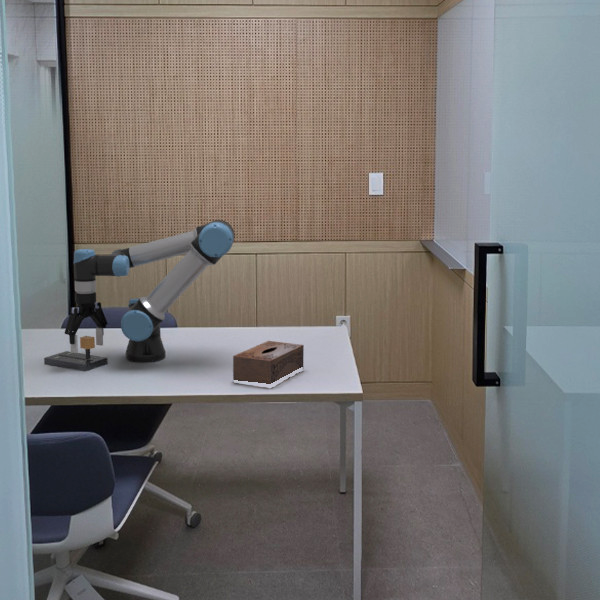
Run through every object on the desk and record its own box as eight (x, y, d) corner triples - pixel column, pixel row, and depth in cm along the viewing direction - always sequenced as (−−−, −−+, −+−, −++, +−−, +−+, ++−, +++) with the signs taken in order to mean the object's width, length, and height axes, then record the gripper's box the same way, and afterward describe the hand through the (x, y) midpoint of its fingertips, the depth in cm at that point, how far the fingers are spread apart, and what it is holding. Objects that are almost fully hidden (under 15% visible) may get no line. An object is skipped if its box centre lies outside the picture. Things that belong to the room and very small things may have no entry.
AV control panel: (107, 364, 335) (107, 357, 334) (85, 371, 324) (85, 364, 324) (67, 357, 344) (66, 350, 344) (44, 364, 334) (44, 357, 333)
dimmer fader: (95, 358, 331) (94, 337, 330) (89, 360, 329) (88, 338, 327) (86, 357, 333) (86, 335, 332) (80, 358, 331) (80, 337, 329)
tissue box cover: (270, 389, 305) (270, 360, 303) (233, 384, 311) (233, 356, 309) (303, 371, 327) (303, 344, 325) (268, 366, 333) (268, 340, 332)
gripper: (100, 285, 339) (102, 340, 343) (53, 296, 317) (55, 354, 321) (116, 287, 335) (117, 343, 339) (69, 298, 314) (71, 357, 318)
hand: (87, 348), depth 330 cm, fingers open, 13 cm apart
